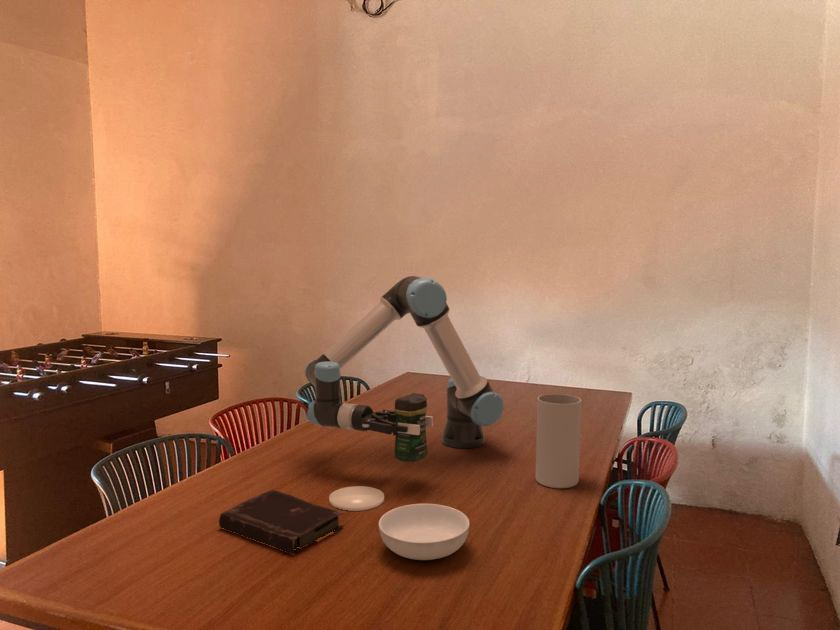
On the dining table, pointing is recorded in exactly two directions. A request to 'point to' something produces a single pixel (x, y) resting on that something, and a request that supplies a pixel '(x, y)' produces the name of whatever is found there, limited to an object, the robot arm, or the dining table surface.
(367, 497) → the ceramic trivet
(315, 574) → the dining table surface
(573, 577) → the dining table surface
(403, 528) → the serving bowl
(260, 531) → the diary
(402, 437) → the coffee jar
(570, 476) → the cylinder vase
